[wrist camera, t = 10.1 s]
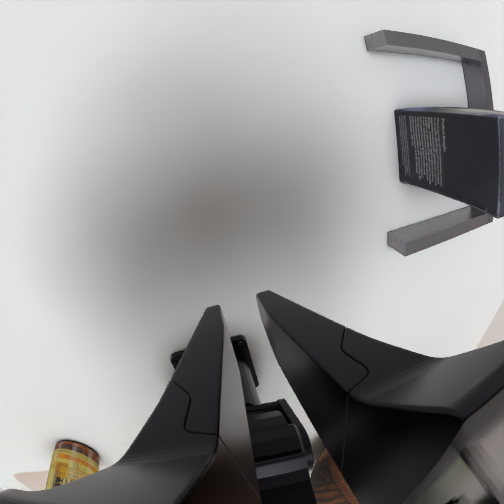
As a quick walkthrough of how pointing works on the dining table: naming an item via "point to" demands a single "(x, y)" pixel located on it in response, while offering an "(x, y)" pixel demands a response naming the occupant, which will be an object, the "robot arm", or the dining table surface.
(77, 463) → the sauce bottle
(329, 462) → the jug
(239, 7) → the dining table surface
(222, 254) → the dining table surface
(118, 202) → the dining table surface
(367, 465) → the robot arm
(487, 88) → the guide rails
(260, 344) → the dining table surface
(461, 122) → the small box
